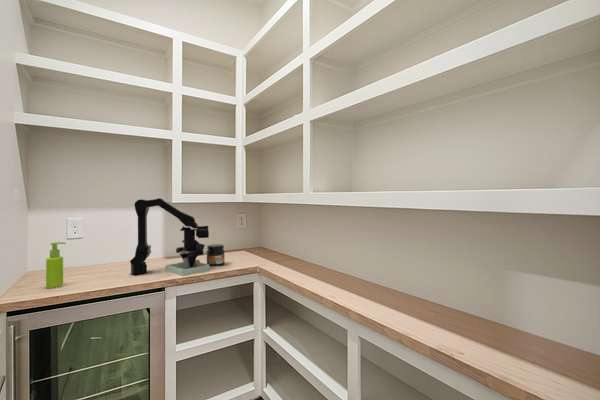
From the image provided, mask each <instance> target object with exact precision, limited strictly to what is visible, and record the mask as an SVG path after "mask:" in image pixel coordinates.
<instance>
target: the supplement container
mask: <svg viewBox="0 0 600 400" xmlns="http://www.w3.org/2000/svg"><path fill="white" fill-rule="evenodd" d="M224 248H225V246H224V244H221V243H219V244H218V243H215V244H208V245H207V248H206V249H207V250H206V264H209V267H222V266H224V265H225V264H226V262H225V249H224Z"/></svg>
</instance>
